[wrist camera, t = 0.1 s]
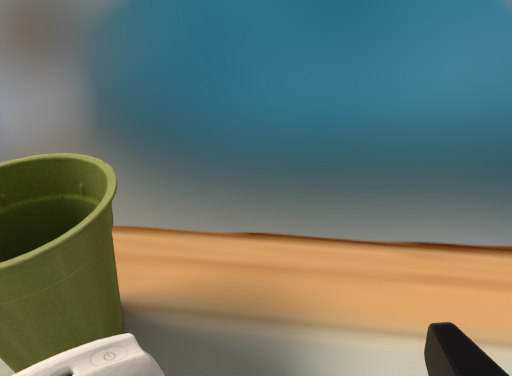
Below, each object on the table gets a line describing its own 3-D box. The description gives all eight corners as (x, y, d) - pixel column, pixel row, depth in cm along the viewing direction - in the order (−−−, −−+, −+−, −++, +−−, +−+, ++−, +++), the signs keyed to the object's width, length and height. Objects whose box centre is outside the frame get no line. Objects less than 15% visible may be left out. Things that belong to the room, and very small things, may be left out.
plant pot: (193, 312, 32) (159, 175, 26) (44, 464, 24) (-55, 318, 18) (87, 258, 38) (40, 137, 32) (-58, 364, 30) (-158, 230, 24)
